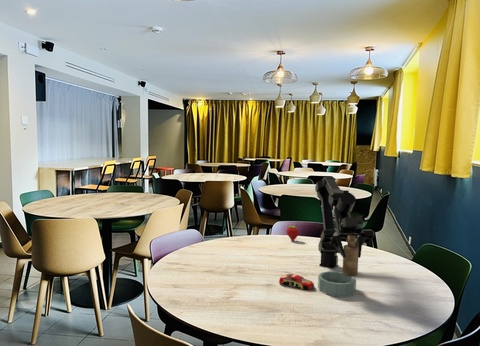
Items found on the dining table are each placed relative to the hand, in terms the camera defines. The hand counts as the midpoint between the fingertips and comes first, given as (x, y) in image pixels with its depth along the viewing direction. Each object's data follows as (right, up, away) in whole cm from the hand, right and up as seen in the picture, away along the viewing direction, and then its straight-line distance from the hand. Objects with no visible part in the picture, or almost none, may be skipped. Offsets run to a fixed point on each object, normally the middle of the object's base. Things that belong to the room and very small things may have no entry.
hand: (351, 257), depth 128 cm
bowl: (-4, -13, +5) cm, 14 cm away
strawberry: (-10, -8, +73) cm, 74 cm away
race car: (-19, -13, +8) cm, 24 cm away
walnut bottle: (0, -6, +2) cm, 7 cm away
